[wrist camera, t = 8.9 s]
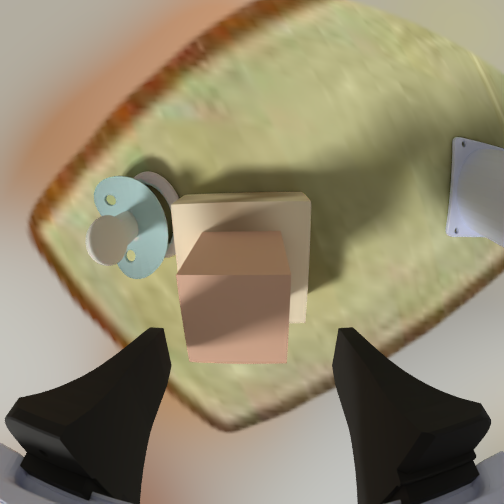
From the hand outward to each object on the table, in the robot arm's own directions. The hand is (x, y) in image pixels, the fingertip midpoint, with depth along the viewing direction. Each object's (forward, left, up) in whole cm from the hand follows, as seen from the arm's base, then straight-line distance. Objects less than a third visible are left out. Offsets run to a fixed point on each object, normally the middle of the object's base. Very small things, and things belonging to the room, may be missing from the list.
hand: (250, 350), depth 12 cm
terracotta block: (+1, -1, -7) cm, 7 cm away
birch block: (+1, -1, -10) cm, 10 cm away
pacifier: (+8, -3, -11) cm, 14 cm away
